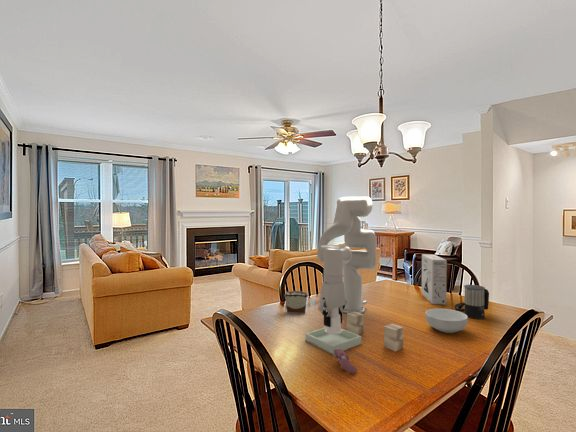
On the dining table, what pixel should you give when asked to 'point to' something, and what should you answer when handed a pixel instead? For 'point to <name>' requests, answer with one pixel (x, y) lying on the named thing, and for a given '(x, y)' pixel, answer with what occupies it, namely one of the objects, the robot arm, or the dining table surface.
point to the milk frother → (474, 301)
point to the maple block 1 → (355, 322)
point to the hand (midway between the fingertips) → (333, 323)
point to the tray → (333, 340)
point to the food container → (296, 301)
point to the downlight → (334, 322)
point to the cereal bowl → (446, 320)
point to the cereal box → (434, 278)
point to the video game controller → (344, 361)
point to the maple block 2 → (393, 337)
